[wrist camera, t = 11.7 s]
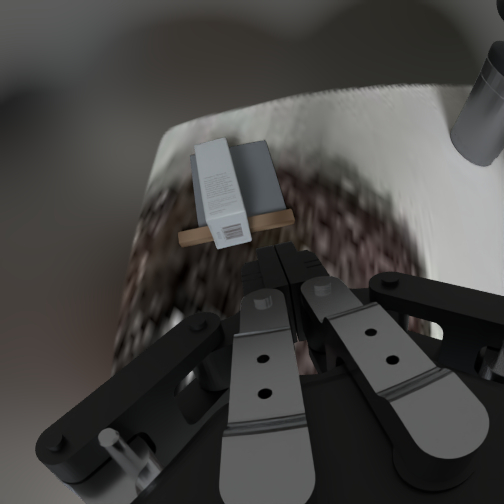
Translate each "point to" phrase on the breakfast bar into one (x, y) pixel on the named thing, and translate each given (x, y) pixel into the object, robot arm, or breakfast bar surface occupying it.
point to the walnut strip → (254, 224)
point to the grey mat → (248, 181)
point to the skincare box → (221, 194)
